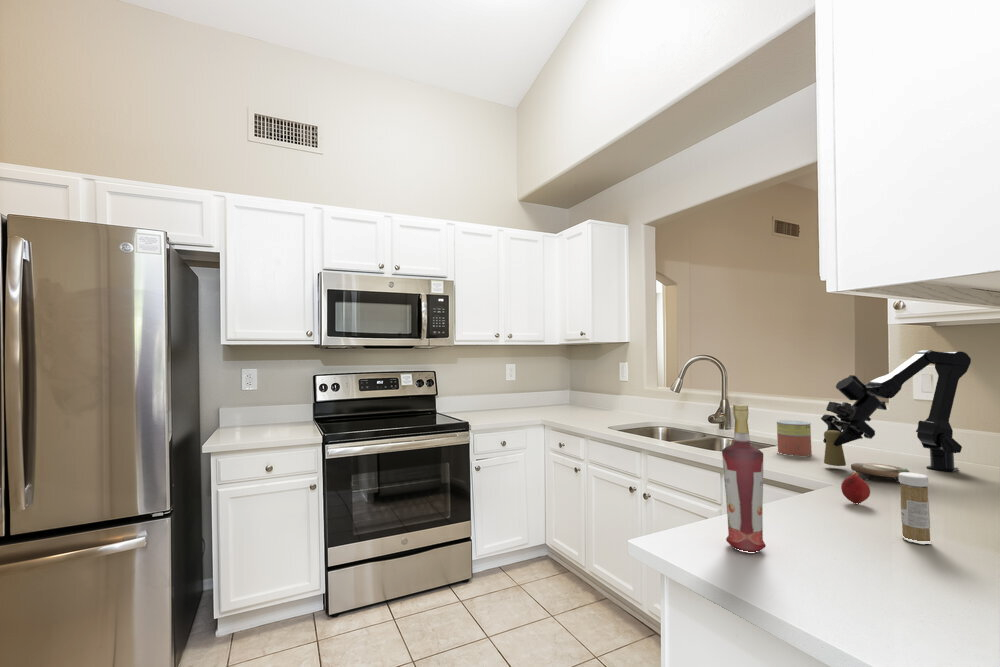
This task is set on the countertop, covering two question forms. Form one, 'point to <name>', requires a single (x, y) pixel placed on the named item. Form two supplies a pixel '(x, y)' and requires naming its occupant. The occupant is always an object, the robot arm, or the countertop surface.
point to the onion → (855, 488)
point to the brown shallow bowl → (877, 470)
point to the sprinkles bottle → (915, 506)
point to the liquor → (743, 487)
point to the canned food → (794, 438)
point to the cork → (833, 449)
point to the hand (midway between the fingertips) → (829, 443)
